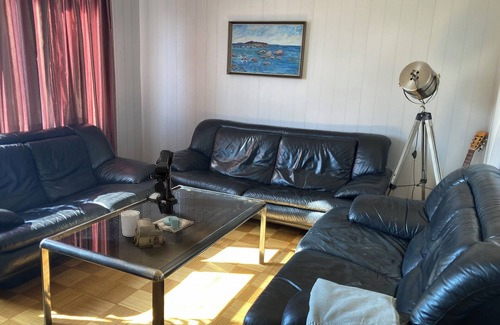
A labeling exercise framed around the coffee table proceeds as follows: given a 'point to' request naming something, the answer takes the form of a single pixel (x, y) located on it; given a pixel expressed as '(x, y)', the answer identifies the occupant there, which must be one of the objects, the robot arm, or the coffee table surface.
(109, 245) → the coffee table surface
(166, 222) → the flange
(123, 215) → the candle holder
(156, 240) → the miniature house
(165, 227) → the post board
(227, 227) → the coffee table surface
